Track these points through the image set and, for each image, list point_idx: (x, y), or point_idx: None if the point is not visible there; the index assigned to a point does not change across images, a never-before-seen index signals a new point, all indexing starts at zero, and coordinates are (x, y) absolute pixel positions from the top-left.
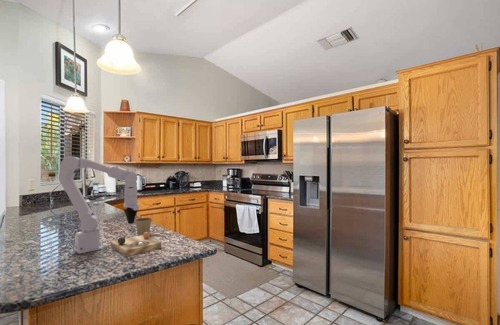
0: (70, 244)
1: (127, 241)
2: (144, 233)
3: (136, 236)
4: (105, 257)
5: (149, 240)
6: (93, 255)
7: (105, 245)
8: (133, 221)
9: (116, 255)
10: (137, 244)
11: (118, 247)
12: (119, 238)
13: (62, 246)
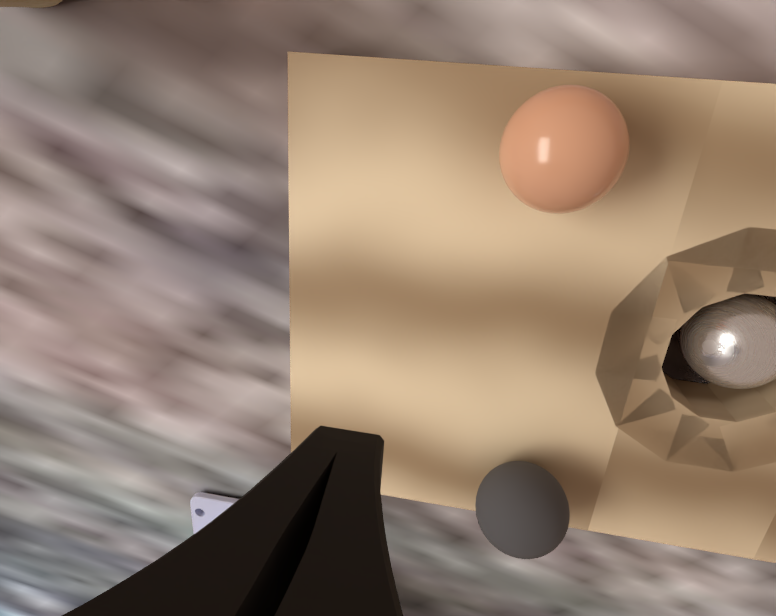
0: (21, 566)
1: (466, 390)
2: (573, 201)
3: (311, 192)
4: (609, 599)
5: (720, 177)
6: (464, 613)
7: (239, 450)
8: (378, 465)
9: None
10: (715, 382)
11: None
12: (523, 557)
13: (47, 608)
